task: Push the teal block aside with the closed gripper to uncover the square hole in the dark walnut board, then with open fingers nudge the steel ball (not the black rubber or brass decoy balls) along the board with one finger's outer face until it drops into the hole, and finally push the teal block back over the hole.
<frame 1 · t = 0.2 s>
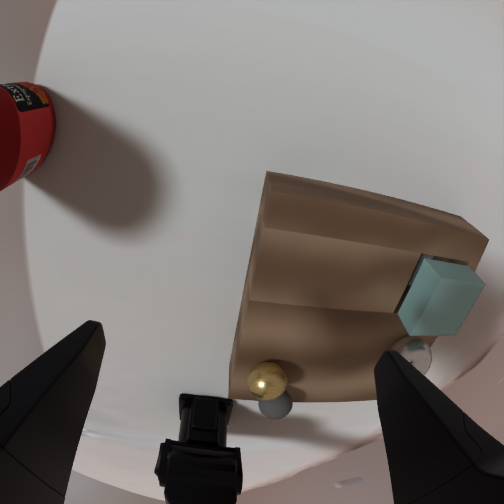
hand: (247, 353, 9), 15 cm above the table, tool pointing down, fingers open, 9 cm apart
canned food: (25, 127, 18), on the table
board: (343, 299, 26), on the table
steel ball: (409, 359, 22), point 6 cm above the table, touching board
brass ball: (267, 381, 23), point 6 cm above the table, touching board
black rubber ball: (275, 403, 25), point 6 cm above the table, touching board
teal block: (441, 299, 19), point 6 cm above the table, slide at 0.0 cm
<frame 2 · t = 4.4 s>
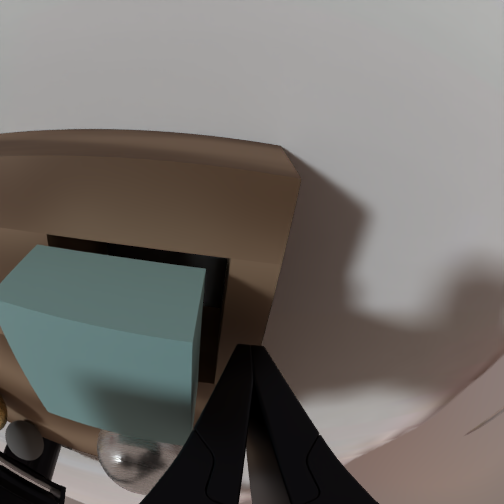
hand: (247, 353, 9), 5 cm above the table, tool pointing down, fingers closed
board: (80, 318, 15), on the table
steel ball: (143, 452, 10), point 6 cm above the table, touching board
black rubber ball: (24, 440, 13), point 6 cm above the table, touching board
teal block: (108, 355, 7), point 6 cm above the table, slide at 0.4 cm, touching gripper
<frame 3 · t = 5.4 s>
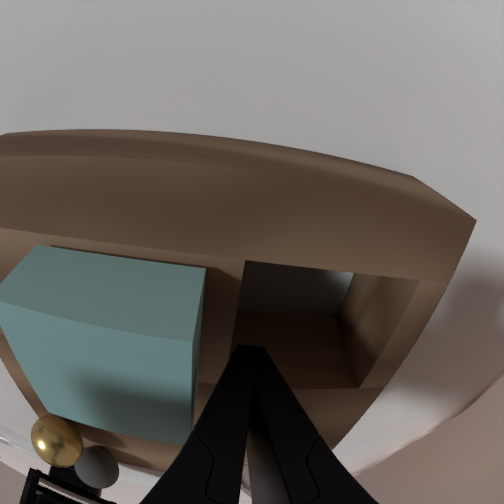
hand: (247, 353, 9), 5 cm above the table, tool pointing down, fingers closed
board: (179, 336, 15), on the table
brass ball: (57, 441, 11), point 6 cm above the table, touching board
black rubber ball: (96, 467, 13), point 6 cm above the table, touching board
teal block: (108, 355, 7), point 6 cm above the table, slide at 6.2 cm, touching gripper
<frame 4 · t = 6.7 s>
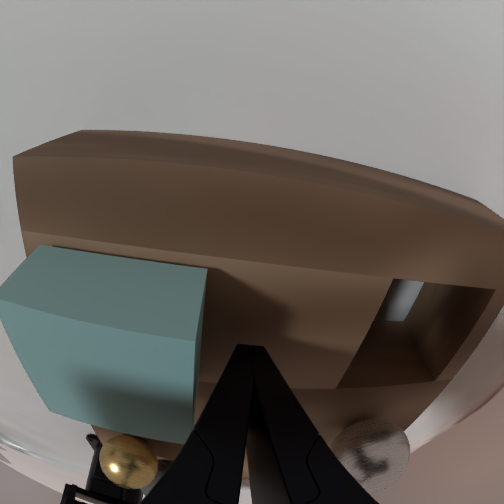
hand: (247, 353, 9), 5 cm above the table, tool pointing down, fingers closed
board: (262, 345, 16), on the table
steel ball: (369, 456, 11), point 6 cm above the table, touching board
brass ball: (128, 462, 12), point 6 cm above the table, touching board
black rubber ball: (162, 482, 14), point 6 cm above the table, touching board
teal block: (110, 355, 7), point 6 cm above the table, slide at 10.5 cm, touching gripper
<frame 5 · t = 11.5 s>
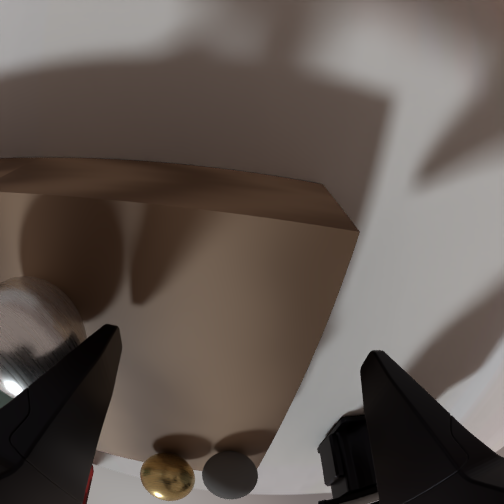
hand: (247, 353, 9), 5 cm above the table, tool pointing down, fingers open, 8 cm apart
board: (99, 321, 15), on the table
steel ball: (29, 340, 7), point 6 cm above the table, tilted 8°, touching board, gripper
brass ball: (167, 476, 13), point 6 cm above the table, touching board
black rubber ball: (230, 475, 13), point 6 cm above the table, touching board
teal block: (24, 428, 12), point 6 cm above the table, slide at 10.5 cm
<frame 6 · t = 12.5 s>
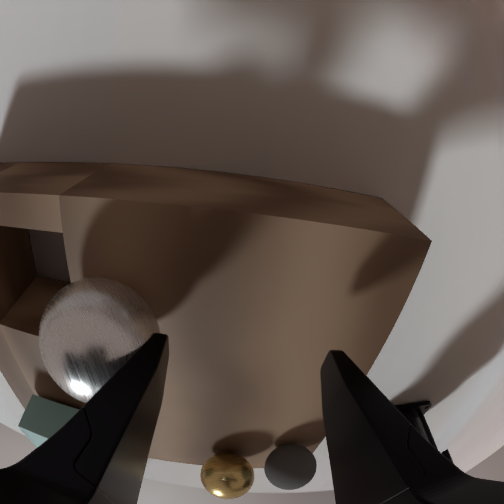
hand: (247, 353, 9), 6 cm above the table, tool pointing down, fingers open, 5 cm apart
board: (159, 328, 16), on the table
steel ball: (99, 342, 8), point 6 cm above the table, tilted 42°, touching board, gripper
brass ball: (227, 475, 14), point 6 cm above the table, touching board
black rubber ball: (290, 466, 14), point 6 cm above the table, touching board
teal block: (73, 441, 13), point 6 cm above the table, slide at 10.5 cm
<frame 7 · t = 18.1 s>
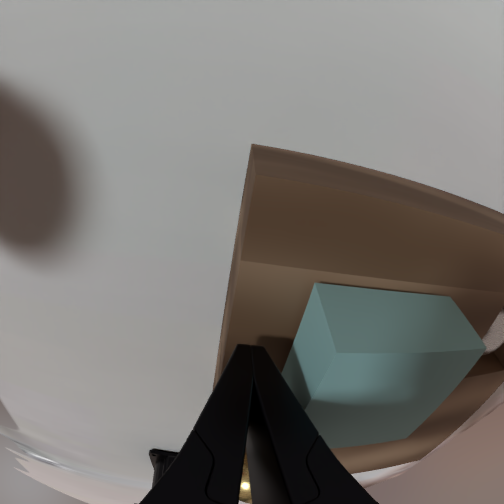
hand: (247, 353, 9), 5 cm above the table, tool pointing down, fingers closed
board: (373, 351, 16), on the table
steel ball: (482, 320, 13), point 2 cm above the table, tilted 98°
brass ball: (255, 477, 13), point 6 cm above the table, touching board
teal block: (372, 378, 8), point 6 cm above the table, slide at 9.5 cm, touching gripper
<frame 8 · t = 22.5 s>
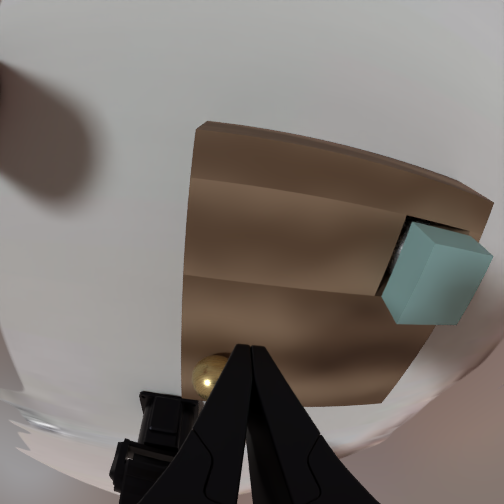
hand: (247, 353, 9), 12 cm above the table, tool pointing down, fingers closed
board: (315, 281, 22), on the table
steel ball: (407, 251, 19), point 2 cm above the table, tilted 92°
brass ball: (216, 378, 18), point 6 cm above the table, touching board
teal block: (438, 277, 15), point 6 cm above the table, slide at -0.1 cm
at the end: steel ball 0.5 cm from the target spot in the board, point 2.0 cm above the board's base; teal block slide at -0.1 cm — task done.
